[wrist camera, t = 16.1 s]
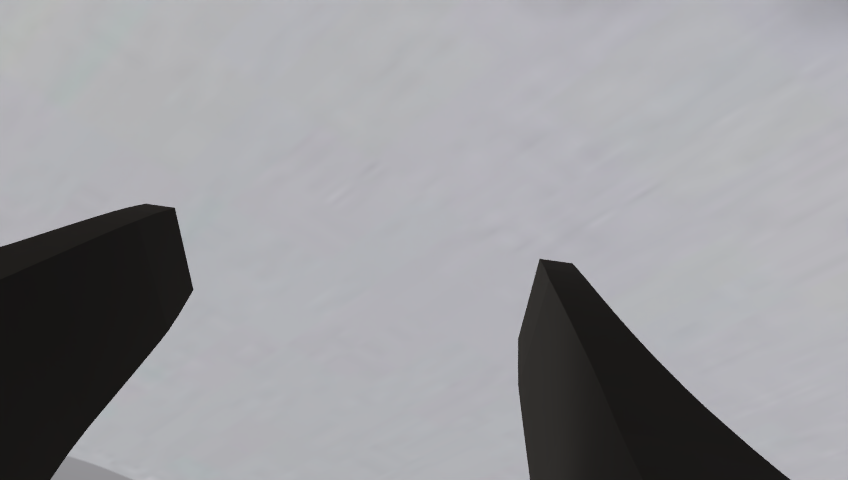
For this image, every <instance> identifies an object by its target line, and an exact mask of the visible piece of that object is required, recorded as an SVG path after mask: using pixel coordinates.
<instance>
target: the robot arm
mask: <svg viewBox="0 0 848 480" xmlns="http://www.w3.org/2000/svg"><path fill="white" fill-rule="evenodd" d="M192 291H193V286H192V282H191V278H190V273H189V269H188V264H187V260H186V255H185V251H184V247H183V242H182V238H181V233H180V229H179V225H178V220H177V216H176V211H175V208H172V207H165V206H158V205H150V204H142V205H137V206H132V207H128V208H124V209H121V210H117V211H113V212H110V213H107V214H103V215H100V216H97V217H93V218H90V219H87V220H84V221H81V222H77V223H74V224H71V225H68V226H65V227H62V228H59V229H56V230H52V231H49V232H46V233H43V234H40V235H37V236H34V237H31V238H28V239H24V240H21V241H18V242H15V243H12V244H9V245H5V246H2V247H0V480H50V479H51V478H52V476H53V475H54V473H55V472H56V471H57V469H58V468H59V466H60V465H61V463H62V462H63V460H64V459H65V457H66V456H67V455H68V453H69V452H70V450H71V449H72V448H73V446H74V445H75V444H76V443H77V441H78V440H79V439H80V437H81V436H82V435H83V434H84V432H85V431H86V430H87V428H88V427H89V426H90V425H91V423H92V422H93V421H94V420H95V419H96V418H97V416H98V415H99V414H100V413H101V412H102V410H103V409H104V408H105V407H106V406H107V404H108V403H109V402H110V401H111V400H112V398H113V397H114V396H115V395H116V394H117V392H118V391H119V390H120V389H121V388H122V387H123V385H124V384H125V383H126V382H127V381H128V379H129V378H130V377H131V376H132V375H133V373H134V372H135V371H136V370H137V369H138V367H139V366H140V365H141V364H142V363H143V361H144V360H145V359H146V358H147V357H148V355H149V354H150V353H151V352H152V350H153V349H154V348H155V347H156V346H157V344H158V343H159V342H160V341H161V339H162V338H163V337H164V336H165V334H166V333H167V332H168V330H169V329H170V327H171V326H172V324H173V323H174V321H175V320H176V318H177V316H178V315H179V313H180V312H181V310H182V308H183V307H184V305H185V303H186V301H187V300H188V298H189V296H190V295H191V293H192ZM518 386H519V395H520V404H521V412H522V420H523V428H524V436H525V443H526V451H527V459H528V467H529V475H530V480H790V479H789V478H787V477H786V476H785V475H784V474H782V473H781V472H780V471H779V470H778V469H776V468H775V467H774V466H773V465H771V464H770V463H769V462H768V461H767V460H765V459H764V458H763V457H762V456H761V455H759V454H758V453H757V452H756V451H755V450H753V449H752V448H751V447H750V446H749V445H748V444H746V443H745V442H744V441H743V440H742V439H741V438H740V437H739V436H737V435H736V434H735V433H734V432H733V431H732V430H731V429H729V428H728V427H727V426H726V425H725V424H724V423H723V422H721V421H720V420H719V419H718V418H717V417H716V416H715V415H714V414H712V413H711V412H710V411H709V410H708V409H707V408H706V407H705V406H704V405H703V404H701V403H700V402H699V401H698V400H697V399H696V398H695V397H694V396H693V395H692V394H691V393H690V392H689V391H688V390H687V389H686V388H685V387H684V386H683V385H682V384H681V383H680V382H679V381H678V380H677V379H676V378H675V377H674V376H673V375H672V374H671V373H670V372H669V371H668V370H667V369H666V368H665V367H664V366H663V365H662V364H661V363H660V362H659V361H658V360H657V359H656V358H655V357H654V356H653V355H652V354H651V353H650V352H649V351H648V350H647V349H646V347H645V346H644V345H643V344H642V343H641V342H640V341H639V340H638V339H637V338H636V337H635V335H634V334H633V333H632V332H631V331H630V330H629V329H628V328H627V327H626V325H625V324H624V323H623V322H622V321H621V320H620V319H619V317H618V316H617V315H616V314H615V313H614V312H613V311H612V309H611V308H610V307H609V306H608V305H607V303H606V302H605V301H604V300H603V299H602V298H601V296H600V295H599V294H598V293H597V292H596V290H595V289H594V288H593V287H592V286H591V284H590V283H589V282H588V281H587V280H586V278H585V277H584V276H583V275H582V274H581V273H580V271H579V270H578V269H577V268H576V267H575V266H574V265H573V264H572V263H565V262H558V261H551V260H544V259H540V260H539V264H538V267H537V271H536V275H535V278H534V282H533V286H532V290H531V293H530V297H529V301H528V305H527V308H526V312H525V316H524V319H523V323H522V327H521V331H520V334H519V338H518Z"/></svg>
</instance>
